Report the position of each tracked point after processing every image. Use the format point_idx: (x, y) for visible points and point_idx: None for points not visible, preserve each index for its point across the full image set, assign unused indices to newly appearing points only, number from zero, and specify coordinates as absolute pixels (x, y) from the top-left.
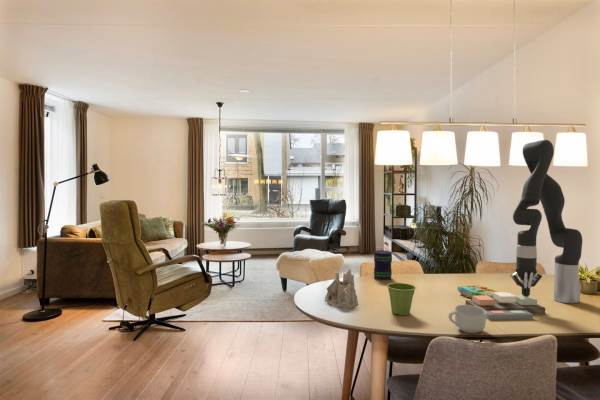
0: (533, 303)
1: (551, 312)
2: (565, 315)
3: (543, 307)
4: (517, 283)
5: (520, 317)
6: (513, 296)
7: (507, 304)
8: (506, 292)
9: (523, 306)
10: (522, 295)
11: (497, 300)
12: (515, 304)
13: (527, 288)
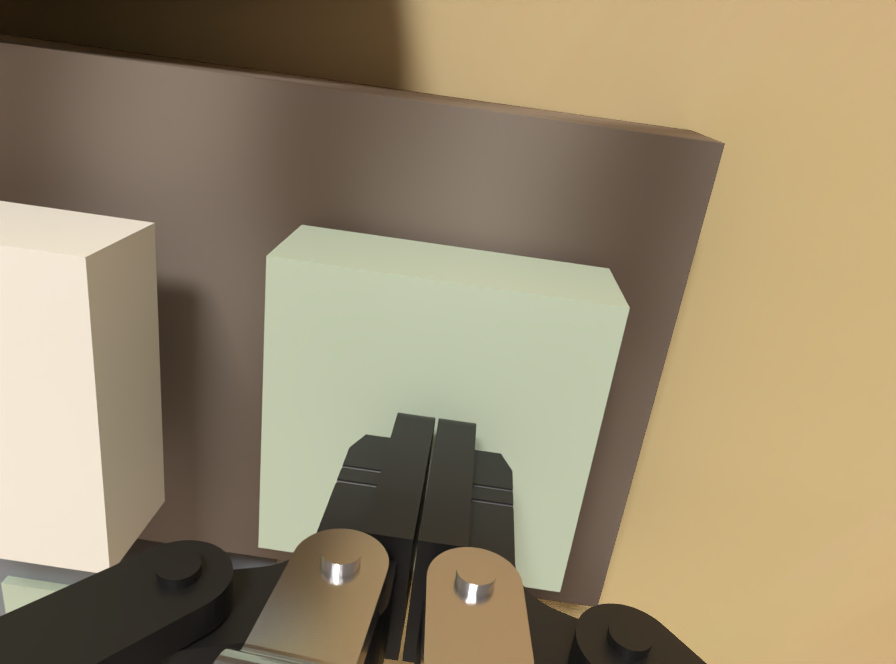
0: None
1: (731, 513)
2: (797, 634)
3: (583, 591)
4: (114, 619)
5: None
6: (54, 565)
7: None
8: (38, 274)
9: None
10: (471, 308)
11: (21, 93)
12: (238, 387)
13: (404, 656)
